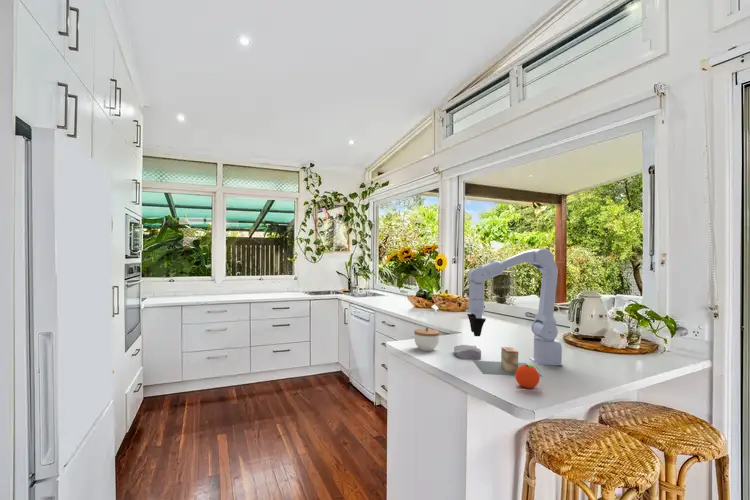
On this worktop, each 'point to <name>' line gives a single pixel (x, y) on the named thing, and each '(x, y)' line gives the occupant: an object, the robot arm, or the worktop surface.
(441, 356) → the worktop surface
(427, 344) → the lidded jar
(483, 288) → the robot arm
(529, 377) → the clementine
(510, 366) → the maple block
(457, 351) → the stone block
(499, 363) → the slate mat
